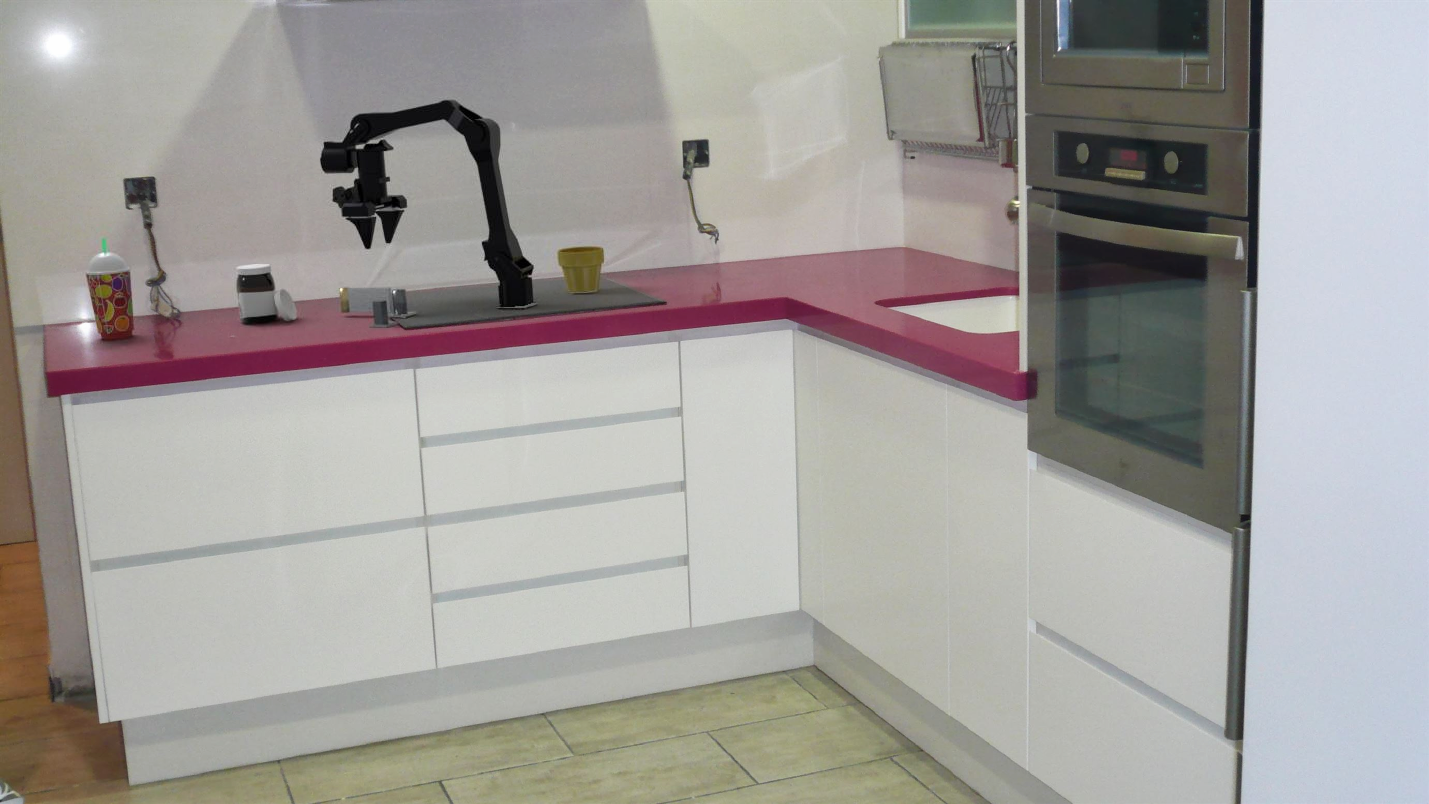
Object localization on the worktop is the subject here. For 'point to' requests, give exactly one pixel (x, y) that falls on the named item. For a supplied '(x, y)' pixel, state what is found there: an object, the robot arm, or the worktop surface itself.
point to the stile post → (381, 315)
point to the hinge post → (399, 302)
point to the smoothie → (111, 294)
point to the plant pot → (581, 267)
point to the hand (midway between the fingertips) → (378, 246)
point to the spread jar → (261, 296)
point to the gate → (363, 298)
